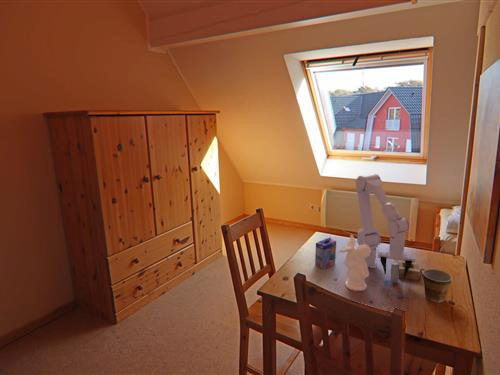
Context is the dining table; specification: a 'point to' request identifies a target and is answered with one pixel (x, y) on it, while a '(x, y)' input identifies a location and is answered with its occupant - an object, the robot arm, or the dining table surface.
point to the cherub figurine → (356, 265)
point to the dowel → (394, 272)
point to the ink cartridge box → (325, 253)
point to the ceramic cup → (436, 284)
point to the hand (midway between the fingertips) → (394, 274)
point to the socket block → (412, 272)
